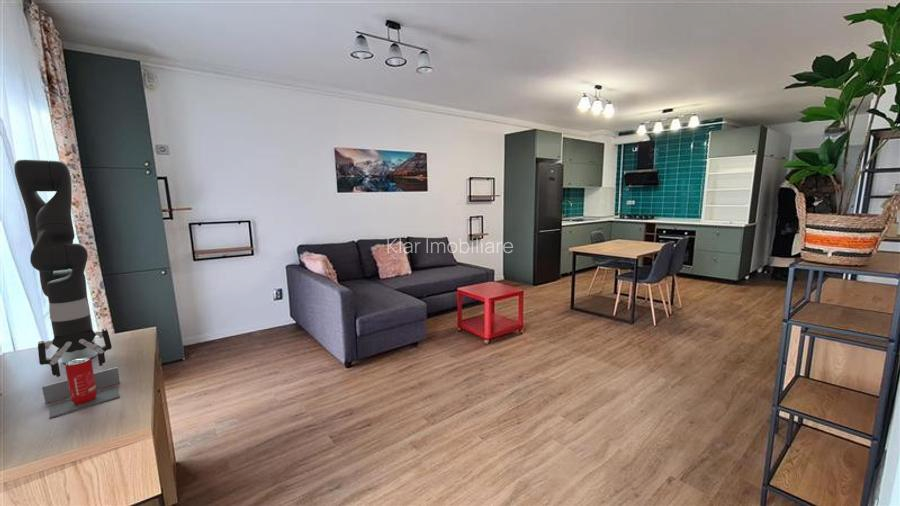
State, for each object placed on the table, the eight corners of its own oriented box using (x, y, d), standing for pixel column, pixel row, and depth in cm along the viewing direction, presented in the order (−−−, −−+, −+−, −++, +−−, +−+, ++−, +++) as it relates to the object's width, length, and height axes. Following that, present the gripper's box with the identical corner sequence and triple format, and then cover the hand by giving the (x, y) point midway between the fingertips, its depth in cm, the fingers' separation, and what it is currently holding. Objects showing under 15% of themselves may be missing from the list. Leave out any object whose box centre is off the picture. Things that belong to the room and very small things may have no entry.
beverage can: (81, 406, 102) (74, 365, 100) (67, 404, 103) (59, 364, 101) (102, 396, 107) (95, 357, 105) (88, 394, 108) (81, 356, 106)
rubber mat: (50, 405, 103) (50, 404, 103) (116, 386, 113) (116, 385, 113) (49, 418, 97) (49, 417, 97) (120, 397, 107) (119, 396, 107)
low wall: (45, 402, 105) (42, 385, 104) (119, 381, 116) (117, 366, 116) (45, 403, 104) (42, 387, 103) (119, 382, 116) (117, 367, 115)
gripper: (104, 307, 109) (112, 358, 111) (32, 319, 98) (43, 374, 101) (106, 312, 104) (115, 365, 106) (31, 325, 93) (42, 384, 96)
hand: (80, 370), depth 104 cm, fingers open, 8 cm apart
